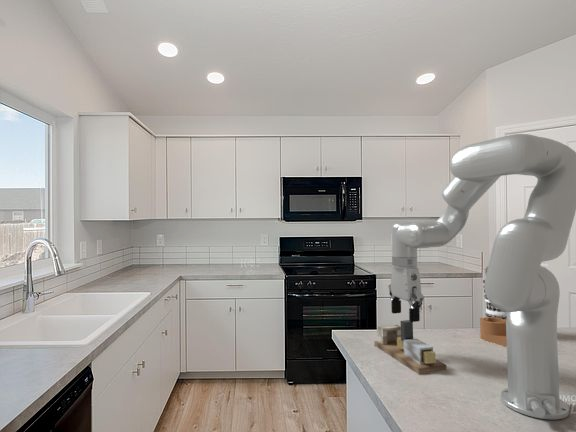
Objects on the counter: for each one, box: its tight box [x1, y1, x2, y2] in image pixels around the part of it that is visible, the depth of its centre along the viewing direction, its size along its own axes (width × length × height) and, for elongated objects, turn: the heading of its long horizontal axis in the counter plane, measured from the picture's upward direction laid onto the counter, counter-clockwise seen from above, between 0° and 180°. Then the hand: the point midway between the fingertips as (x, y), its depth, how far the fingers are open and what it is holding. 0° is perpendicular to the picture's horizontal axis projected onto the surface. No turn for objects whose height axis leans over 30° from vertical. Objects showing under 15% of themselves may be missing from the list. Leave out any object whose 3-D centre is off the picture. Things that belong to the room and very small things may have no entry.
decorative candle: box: [482, 265, 507, 320], centre depth 131 cm, size 9×9×25 cm
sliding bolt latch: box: [374, 323, 447, 375], centre depth 110 cm, size 24×9×7 cm, turn 15°
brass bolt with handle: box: [397, 319, 437, 364], centre depth 106 cm, size 15×3×9 cm, turn 15°
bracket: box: [479, 316, 507, 348], centre depth 121 cm, size 18×8×7 cm, turn 28°
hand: (405, 317), depth 111 cm, fingers open, 9 cm apart
